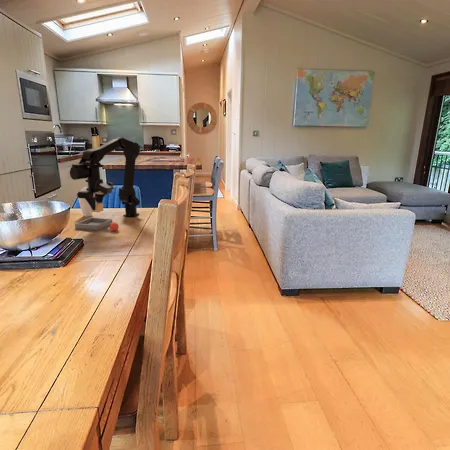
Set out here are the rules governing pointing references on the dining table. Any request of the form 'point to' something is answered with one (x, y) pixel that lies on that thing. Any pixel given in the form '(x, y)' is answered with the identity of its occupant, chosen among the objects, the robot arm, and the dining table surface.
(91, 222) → the dish
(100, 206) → the block
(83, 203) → the soft serve ice cream cone
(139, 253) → the dining table surface
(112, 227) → the tomato
